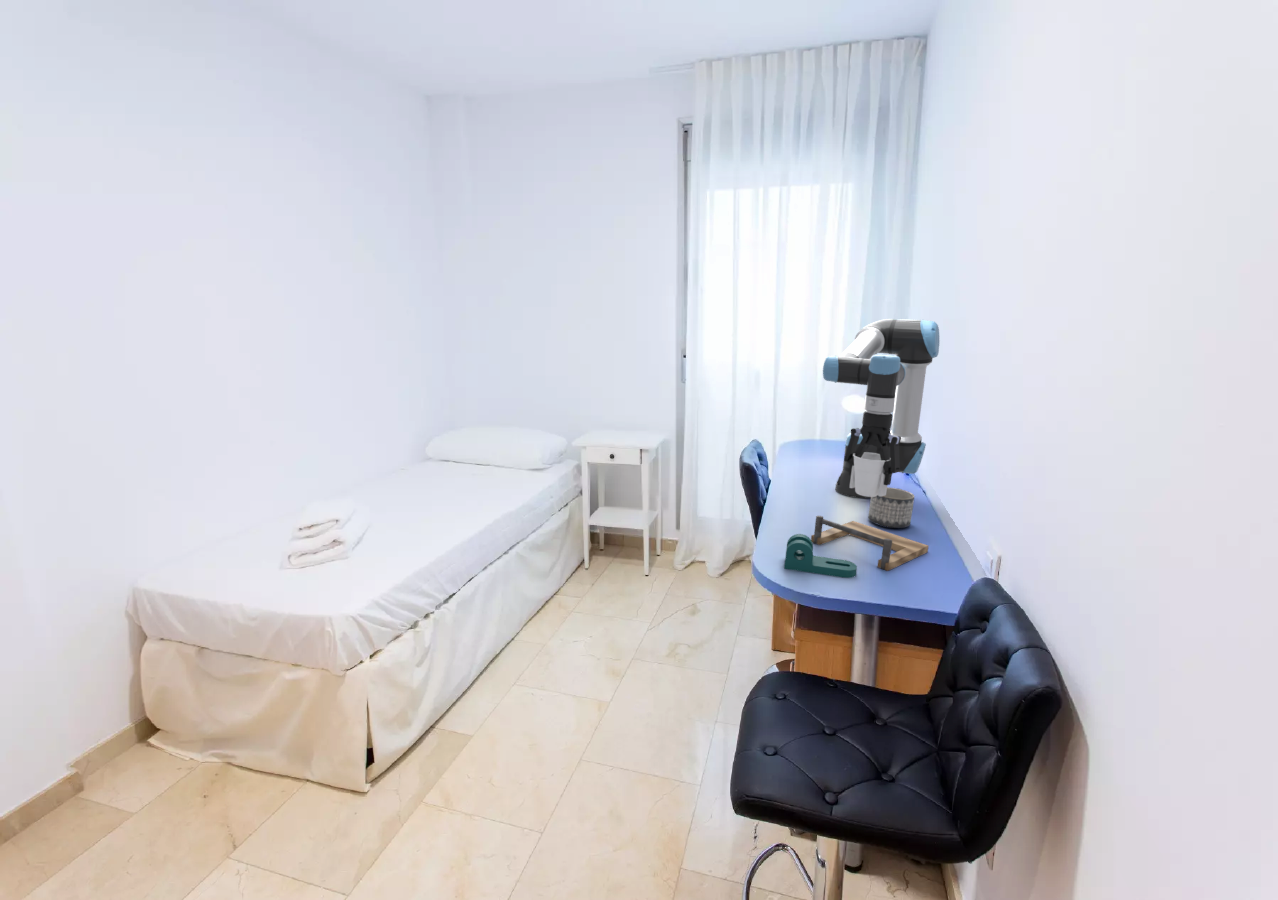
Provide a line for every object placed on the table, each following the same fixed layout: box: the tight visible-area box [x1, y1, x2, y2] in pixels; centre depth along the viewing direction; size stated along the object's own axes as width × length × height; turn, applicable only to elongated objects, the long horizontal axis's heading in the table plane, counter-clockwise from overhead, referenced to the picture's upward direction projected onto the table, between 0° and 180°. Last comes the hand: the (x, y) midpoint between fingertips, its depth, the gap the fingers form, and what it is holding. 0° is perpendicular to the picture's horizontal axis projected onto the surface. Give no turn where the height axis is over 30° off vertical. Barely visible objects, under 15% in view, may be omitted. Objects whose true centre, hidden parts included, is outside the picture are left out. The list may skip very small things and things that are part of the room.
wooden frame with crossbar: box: [810, 515, 930, 572], centre depth 173 cm, size 22×24×8 cm
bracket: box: [784, 533, 858, 579], centre depth 157 cm, size 18×7×8 cm, turn 74°
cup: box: [853, 452, 891, 497], centre depth 169 cm, size 10×10×11 cm
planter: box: [867, 486, 916, 529], centre depth 193 cm, size 13×13×10 cm
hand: (867, 491), depth 170 cm, fingers closed on cup, 8 cm apart
